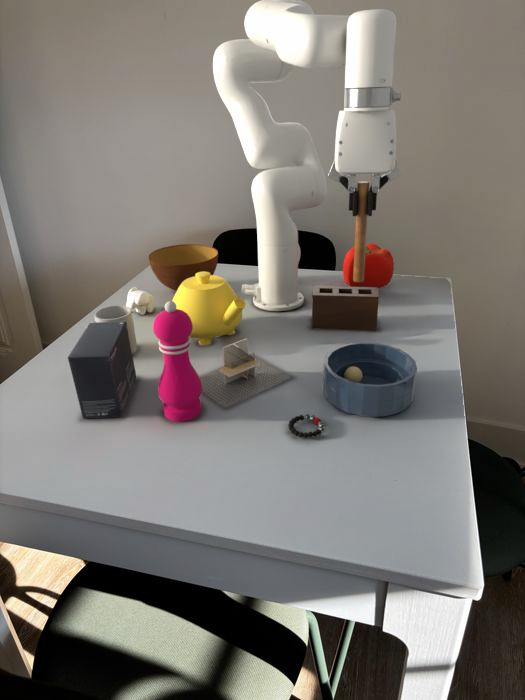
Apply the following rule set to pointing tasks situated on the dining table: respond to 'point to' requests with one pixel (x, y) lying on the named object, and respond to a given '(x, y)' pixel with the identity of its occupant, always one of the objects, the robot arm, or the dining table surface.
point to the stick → (361, 231)
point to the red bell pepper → (370, 267)
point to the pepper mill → (177, 365)
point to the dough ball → (353, 374)
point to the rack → (345, 308)
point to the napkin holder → (240, 376)
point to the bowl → (182, 263)
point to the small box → (103, 369)
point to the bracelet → (310, 434)
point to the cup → (118, 314)
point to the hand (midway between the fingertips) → (361, 213)
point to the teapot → (209, 306)
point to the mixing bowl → (370, 379)
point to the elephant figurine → (140, 301)
